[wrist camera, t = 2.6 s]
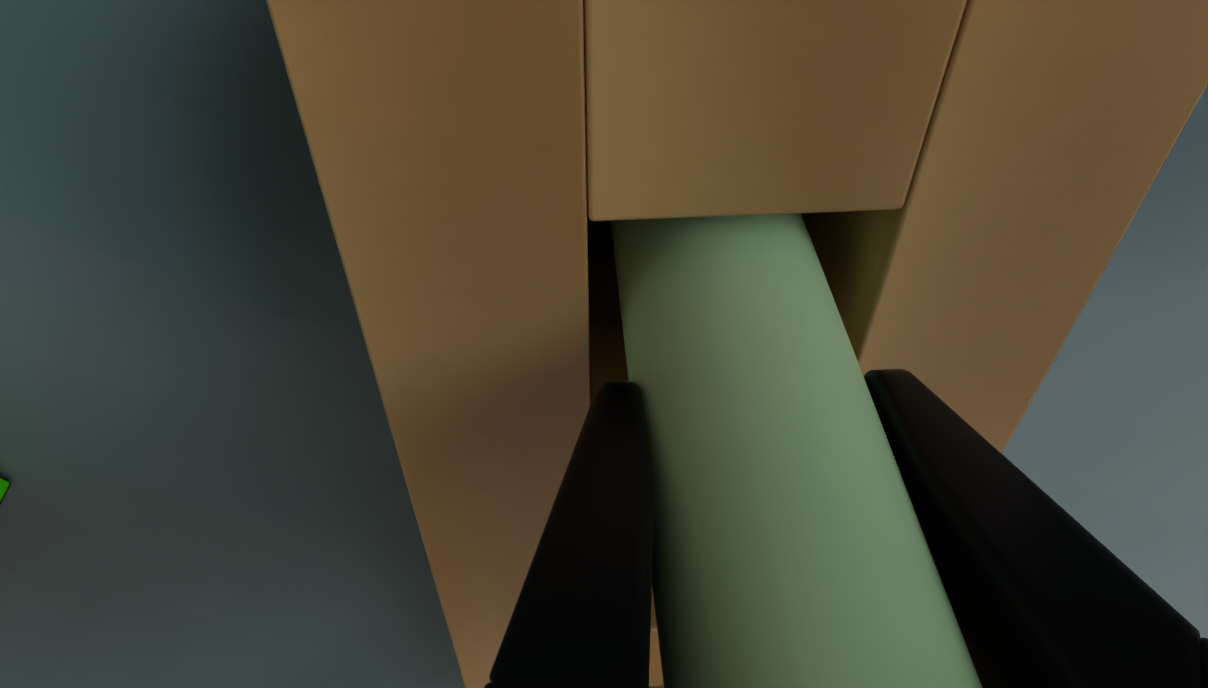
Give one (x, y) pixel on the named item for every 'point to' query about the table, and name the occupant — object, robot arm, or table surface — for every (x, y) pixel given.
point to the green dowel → (771, 471)
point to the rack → (708, 205)
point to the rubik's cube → (3, 488)
